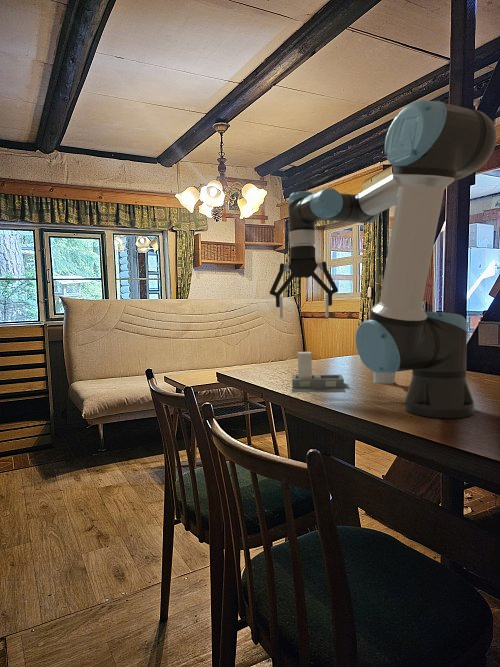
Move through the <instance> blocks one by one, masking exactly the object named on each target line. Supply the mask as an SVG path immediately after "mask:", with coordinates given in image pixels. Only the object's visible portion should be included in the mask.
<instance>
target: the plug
mask: <svg viewBox="0 0 500 667" xmlns="http://www.w3.org/2000/svg"><path fill="white" fill-rule="evenodd" d="M312 359H313V358H312V351H297V370H298V371H297V375H298V379H312V375H313V374H312V373H313V369H312V367H313V366H312V364H313V362H312V361H313V360H312Z"/></svg>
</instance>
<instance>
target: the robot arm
mask: <svg viewBox="0 0 500 667" xmlns="http://www.w3.org/2000/svg"><path fill="white" fill-rule="evenodd" d="M496 143H497V130H496V127H495V124H494V122H493V120H492V119H491V118H490V117H489V116H488V115H487V114H485V112H483V111H480V110H478V109H474V108H473V109H472V108H466V107H462V106H458V105H454V104H449V103H445V102H442V101H441V100H425V99H420V100H416V101H412V102H411V103H409V104H407V105H405V107H403V108H402V109H401V110H400V111H399V113H398V114H397V116H395V117H394V119H393V121H391V124H390V125H389V127H388V130H387V133H386V135H385V140H384V154H385V155H386V160H387V161H388V162H389V163H390V164H391V165H392V166H393V172H391V174H389V175H388V176H386V177H383V178H382V179H381V180H379V181H377V182H375V183H373V184H372V185H370V186H368V187H367V188H365V189H363V190H362V191H360V192H358V193H356V194H351V193H342V192H339V191H337V189H335V188H331V187H328V188H327V187H326V188H323V189H320V190H318V191H316V192H314V193H313V192H312V191H309V190H302V191H296V192H292V193H291V194H290V195H289V197H288V228H289V246H290V248H289V263H287V264H286V263H280V264H279V270H278V273H277V274H276V277H275V280H274V281H273V284H272V286H271V289H270V290H269V294H270V295H271V296H274V298H275V307H276V308H279V319H281V320H282V319H284V311H283V309H284V306H283V296H281V295H282V294H283V292H284V291H285V290H286V289H287V287H288V286H289V285H290V284H291V282H292V281H293V280H294V279H295V278H297V279H302V278H305V279H308V278H312V279H313V280H314V281H316V283H317V284H318V285H319V286H320V287H321V288H322V290H323V291H325V293H326V294H325V296H324V301H325V302H324V303H325V307H324V308H325V318H329V317H330V316H329V314H330V312H329V307H330V306H333V295H334V294H337V293H338V292H339V288H338V286H337V285H336V282H335V281H334V279H333V278H332V275H331V274H330V272H329V270H328V266H327V262H326V261H322V262H317V260H316V246H315V245H316V225H315V224H316V223H317V222H321V221H331V222H345V223H346V222H347V223H359V224H365V223H373V222H375V221H376V220H377V218H378V217H380V214H381V213H382V212H384V211H386V210H388V209H390V208H393V207H394V206H395V208H394V213H393V215H394V216H393V220H392V225H391V226H392V227H391V231H390V236H389V237H390V239H389V245H388V249H387V251H388V252H387V255H386V263H385V267H384V274H383V281H382V286H381V294H380V297H379V298H380V300H379V301H378V303H376V304H374V305H373V306H372V307H371V309H370V310H371V311H370V314H369V315H370V316H369V319H366V320H365V321H362V322H361V323H360V325H358V327H357V329H356V333H355V348H356V351H357V355H358V356H359V359H360V360H361V362H362V364H364V365H365V367H366V368H367V369H369V370H370V371H372V372H373V371H374V372H377V373H395V374H396V373H397V372H404V371H412V375H411V376H412V377H411V381H410V383H409V386H408V389H407V392H406V395H405V397H404V409H405V410H406V411H407V412H408V413H411V414H414V415H418V416H423V417H427V418H436V419H462V418H467V417H471V416H473V415H474V414H475V401H474V398H473V396H472V393H471V389H470V387H469V383H468V381H467V353H468V352H467V350H468V349H467V347H468V344H467V343H468V339H467V338H468V332H469V331H468V330H467V319H466V318H465V317H464V316H463V315H461V314H458V313H450V312H437V311H436V312H435V311H424V309H423V308H422V305H423V302H424V296H425V291H426V286H427V282H428V276H429V271H430V265H431V260H432V255H433V250H434V244H435V239H436V234H437V230H438V223H439V218H440V214H441V208H442V205H443V204H442V203H443V199H444V193H445V189H446V188H447V187H449V185H451V184H452V183H455V182H457V181H459V180H461V179H464V178H465V177H468V176H469V175H471V174H473V173H475V172H476V171H478V170H480V169H481V168H482V167H483V166H484V165H485V164H486V163H487V162H488V161H489V159H490V157H491V156H492V154H493V153H494V150H495V147H496ZM317 268H319V269H320V270H322V271H323V275H324V276H325V278H326V280H327V281H328V283H329V285H330V287H331V288H329V287H328V286H327V284H325V282H324V281H323V280H322V279H321V278H320V277H319V275H318V274H317V273H316V272H315V271H316V270H317ZM287 269H288V270H290V271H291V273H290V274H289V276H288V278H287V279H286V280H285V281H284V282H283V284H282V285H281V286H280V287H279V286H278V285H279V283H280V281H281V280H282V277H283V274H284V272H286V271H287ZM278 287H279V289H278V290H277V288H278ZM276 290H277V291H276Z"/></svg>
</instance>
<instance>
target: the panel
mask: <svg viewBox="0 0 500 667" xmlns="http://www.w3.org/2000/svg"><path fill="white" fill-rule="evenodd" d="M291 378H292V379H291V382H292V384H291V388H292V389H291V393H346V389H345V383H344V382H345V379H344V377H343V375H342V374H312V379H298V374H293V375H292V377H291Z"/></svg>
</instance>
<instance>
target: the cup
mask: <svg viewBox="0 0 500 667" xmlns="http://www.w3.org/2000/svg"><path fill="white" fill-rule="evenodd" d="M372 376H373V377H372V379H373V383H375V384H380V385H381V384H383V385H391V384H395V380H396V372H395V373H377V372H374V371H372Z"/></svg>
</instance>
